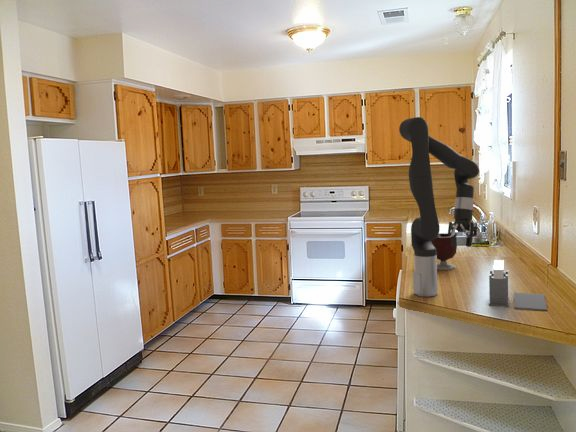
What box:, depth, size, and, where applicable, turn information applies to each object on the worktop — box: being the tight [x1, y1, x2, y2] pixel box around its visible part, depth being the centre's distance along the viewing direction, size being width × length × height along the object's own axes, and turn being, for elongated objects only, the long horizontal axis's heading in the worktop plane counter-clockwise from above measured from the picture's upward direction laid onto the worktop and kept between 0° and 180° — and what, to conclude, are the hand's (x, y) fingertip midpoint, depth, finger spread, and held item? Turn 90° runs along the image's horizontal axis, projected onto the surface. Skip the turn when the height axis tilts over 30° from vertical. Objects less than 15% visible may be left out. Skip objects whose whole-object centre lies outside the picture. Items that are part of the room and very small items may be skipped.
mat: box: [513, 292, 548, 311], centre depth 195 cm, size 21×11×1 cm, turn 156°
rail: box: [492, 259, 505, 279], centre depth 198 cm, size 18×4×4 cm, turn 156°
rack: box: [488, 269, 510, 308], centre depth 196 cm, size 11×7×12 cm, turn 156°
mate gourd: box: [431, 232, 458, 271], centre depth 260 cm, size 16×14×20 cm
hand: (460, 246), depth 212 cm, fingers open, 8 cm apart
